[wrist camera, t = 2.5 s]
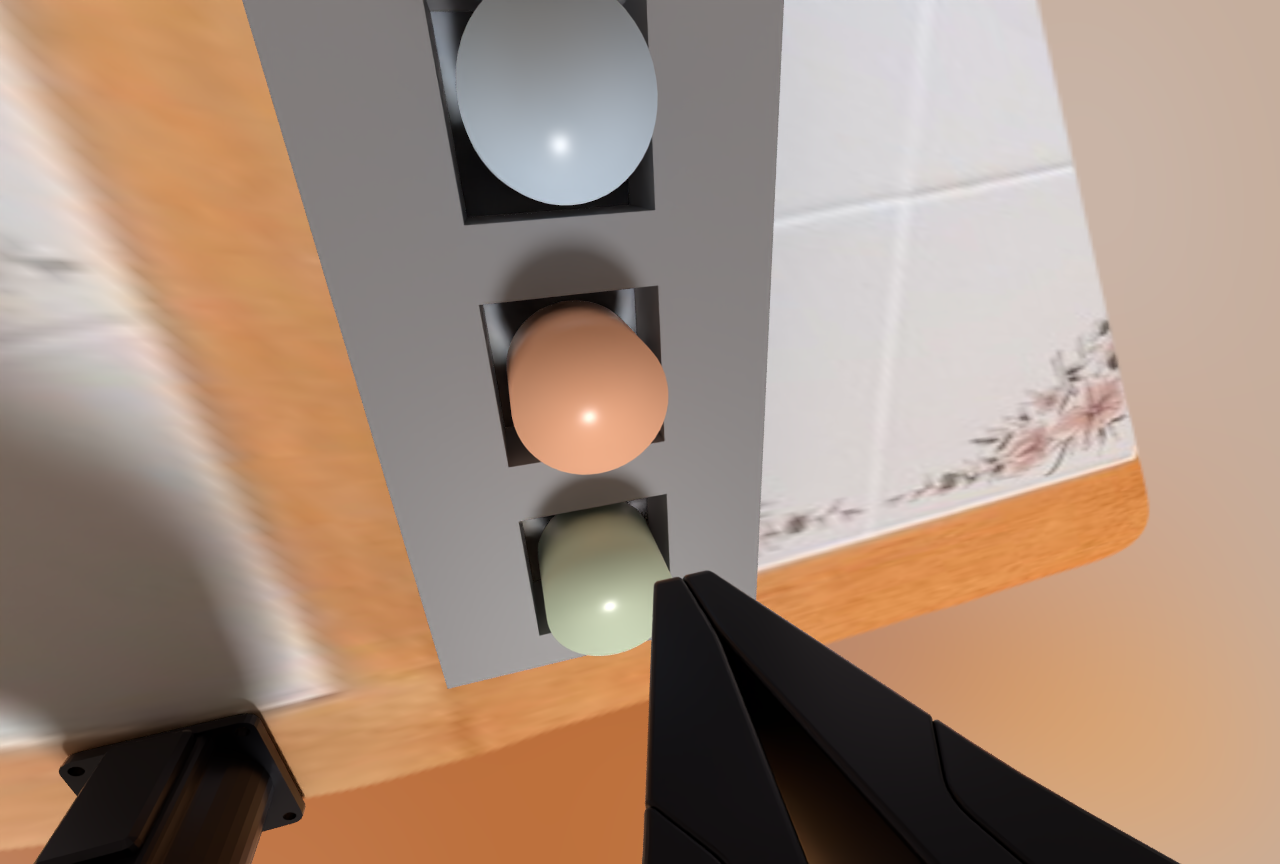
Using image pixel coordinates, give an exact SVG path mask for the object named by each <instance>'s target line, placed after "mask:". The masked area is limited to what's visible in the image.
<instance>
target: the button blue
mask: <svg viewBox="0 0 1280 864" xmlns="http://www.w3.org/2000/svg"><path fill="white" fill-rule="evenodd" d="M456 92H457V101H458V105H459V110H460V114H461V118H462V120H463V123H464V126H465V129H466V132H467V134H468V137H469V139H470V141H471V143H472V145H473V147H474V149H475V151H476V153H477V154H478V156H479V157H480V159H481V161H482V162H483V163H484V164H485V166H486V167H487V168H488V169H489V170H490V171H491V172H492V173H493V174H494V175H495V176H496V177H497V178H498V179H499V180H500V181H502V182H503V183H504V184H506V185H507V186H509V187H510V188H512V189H514V190H516V191H517V192H519V193H521V194H523V195H525V196H527V197H529V198H532V199H534V200H537V201H541V202H544V203H548V204H555V205H576V204H583V203H587V202H590V201H594V200H596V199H599V198H601V197H603V196H605V195H607V194H609V193H610V192H612V191H613V190H615V189H616V188H618V187H619V186H620V185H621V184H622V183H623V182H624V181H626V180H627V178H628V177H629V176H630V175H631V174H632V173H633V172H634V171H635V169H636V168H637V166H638V165H639V163H640V162H641V160H642V158H643V156H644V154H645V152H646V150H647V149H648V146H649V143H650V140H651V138H652V135H653V131H654V126H655V122H656V115H657V100H658V92H657V81H656V75H655V70H654V65H653V61H652V58H651V55H650V52H649V49H648V46H647V44H646V42H645V40H644V37H643V35H642V33H641V32H640V30H639V28H638V26H637V25H636V23H635V21H634V20H633V19H632V17H631V16H630V15H629V13H628V12H627V11H626V9H625V8H624V7H623V6H622V5H621V4H620V3H619V2H618V1H617V0H483V1H482V2H481V3H480V4H479V6H478V7H477V8H476V10H475V11H474V13H473V15H472V16H471V18H470V20H469V21H468V23H467V26H466V28H465V31H464V33H463V35H462V38H461V42H460V46H459V50H458V55H457V63H456Z"/></svg>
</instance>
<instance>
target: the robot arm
mask: <svg viewBox="0 0 1280 864" xmlns="http://www.w3.org/2000/svg"><path fill="white" fill-rule="evenodd" d="M647 746H648V747H647V771H646V796H645V797H646V798H645V806H646V810H645V814H644V839H643V857H642V864H1180V863H1178V862H1176V861H1174V860H1173V859H1171V858H1169V857H1167V856H1165V855H1164V854H1162V853H1160V852H1158V851H1157V850H1155V849H1153V848H1151V847H1149V846H1148V845H1146V844H1144V843H1142V842H1141V841H1139V840H1137V839H1135V838H1133V837H1132V836H1130V835H1128V834H1126V833H1125V832H1123V831H1121V830H1119V829H1117V828H1116V827H1114V826H1112V825H1110V824H1109V823H1107V822H1105V821H1103V820H1101V819H1100V818H1098V817H1096V816H1094V815H1092V814H1091V813H1089V812H1087V811H1085V810H1084V809H1082V808H1080V807H1078V806H1077V805H1075V804H1073V803H1072V802H1070V801H1068V800H1066V799H1065V798H1063V797H1061V796H1060V795H1058V794H1056V793H1054V792H1053V791H1051V790H1049V789H1047V788H1046V787H1044V786H1042V785H1041V784H1039V783H1037V782H1036V781H1034V780H1032V779H1030V778H1029V777H1027V776H1025V775H1023V774H1021V773H1020V772H1019V771H1017V770H1015V769H1014V768H1012V767H1011V766H1009V765H1007V764H1006V763H1004V762H1003V761H1001V760H1000V759H998V758H996V757H995V756H993V755H992V754H990V753H988V752H987V751H985V750H983V749H982V748H981V747H979V746H977V745H976V744H974V743H973V742H971V741H969V740H968V739H966V738H965V737H963V736H962V735H960V734H959V733H957V732H956V731H954V730H953V729H951V728H950V727H948V726H947V725H945V724H943V723H942V722H940V721H939V720H934V721H932V717H931V716H930V715H929V714H928V713H926V712H925V711H923V710H922V709H920V708H919V707H917V706H916V705H914V704H913V703H911V702H910V701H908V700H907V699H905V698H904V697H902V696H901V695H899V694H898V693H896V692H895V691H893V690H892V689H890V688H889V687H887V686H885V685H884V684H882V683H881V682H879V681H878V680H876V679H875V678H873V677H872V676H870V675H869V674H867V673H866V672H864V671H863V670H861V669H860V668H858V667H856V666H855V665H854V664H852V663H851V662H849V661H848V660H846V659H844V658H843V657H841V656H840V655H838V654H837V653H835V652H834V651H832V650H831V649H829V648H828V647H826V646H825V645H823V644H822V643H820V642H819V641H817V640H816V639H814V638H813V637H811V636H810V635H808V634H807V633H805V632H803V631H802V630H800V629H799V628H797V627H796V626H794V625H793V624H791V623H790V622H788V621H787V620H785V619H784V618H782V617H781V616H779V615H778V614H776V613H775V612H773V611H772V610H770V609H769V608H767V607H765V606H764V605H762V604H761V603H759V602H758V601H756V600H755V599H753V598H752V597H750V596H749V595H747V594H746V593H744V592H743V591H741V590H740V589H738V588H737V587H735V586H734V585H732V584H731V583H729V582H728V581H726V580H724V579H723V578H721V577H720V576H718V575H717V574H715V573H714V572H712V571H709V570H705V571H700V572H696V573H691V574H687V575H685V576H684V577H683V579H682V578H680V577H673V578H669V579H664V580H660V581H656V582H655V584H654V589H653V614H652V640H651V666H650V692H649V718H648V745H647ZM59 774H60V776H61V777H62V778H63V779H64V781H65V782H66V783H67V784H68V786H69V787H70V788H71V789H72V790H73V792H74V793H75V794H76V795H77V798H76V799H75V801H74V802H73V804H72V805H71V807H70V808H69V810H68V811H67V813H66V815H65V816H64V818H63V819H62V821H61V822H60V824H59V825H58V827H57V828H56V830H55V831H54V833H53V835H52V836H51V838H50V839H49V841H48V842H47V844H46V845H45V847H44V848H43V850H42V851H41V853H40V854H39V856H38V858H37V859H36V861H35V862H34V864H251V863H252V860H253V857H254V854H255V851H256V848H257V845H258V842H259V839H260V836H261V833H262V832H263V831H266V830H270V829H274V828H277V827H281V826H284V825H288V824H292V823H295V822H297V821H299V820H300V819H301V818H302V816H303V813H304V810H305V803H304V801H303V799H302V797H301V795H300V793H299V791H298V790H297V788H296V786H295V784H294V782H293V780H292V778H291V776H290V774H289V773H288V771H287V769H286V767H285V765H284V763H283V761H282V759H281V757H280V756H279V754H278V752H277V750H276V748H275V746H274V744H273V742H272V740H271V739H270V737H269V735H268V733H267V731H266V729H265V727H264V725H263V723H262V722H261V720H260V719H259V717H258V716H255V715H253V714H240V715H236V716H232V717H228V718H223V719H219V720H215V721H210V722H206V723H202V724H198V725H193V726H189V727H185V728H180V729H176V730H172V731H168V732H163V733H159V734H155V735H150V736H146V737H142V738H138V739H133V740H129V741H125V742H120V743H116V744H112V745H108V746H103V747H99V748H95V749H90V750H86V751H82V752H78V753H74V754H72V755H70V756H69V757H68V758H67V759H66V760H65V762H64V763H63V765H62V766H61V767H60V769H59Z"/></svg>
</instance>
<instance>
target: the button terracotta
mask: <svg viewBox="0 0 1280 864" xmlns="http://www.w3.org/2000/svg"><path fill="white" fill-rule="evenodd" d="M506 369H507V379H508V387H509V396H510V404H511V413H512V419H513V423H514V427H515V429H516V432H517V434H518V436H519V438H520V440H521V441H522V443H523V444H524V446H525V447H526V448H527V449H528V451H529V452H530V453H531V454H533V455H534V456H535V457H536V458H537V459H538V460H540V461H541V462H543V463H544V464H546V465H548V466H550V467H552V468H554V469H557V470H559V471H563V472H567V473H571V474H580V475H587V474H598V473H603V472H607V471H611V470H613V469H616V468H619V467H621V466H623V465H625V464H627V463H629V462H630V461H632V460H633V459H635V458H636V457H637V456H639V455H640V454H641V453H642V452H643V451H644V450H645V449H646V448H647V447H648V446H649V445H650V444H651V442H652V441H653V440H654V439H655V437H656V436H657V434H658V432H659V431H660V429H661V426H662V424H663V422H664V419H665V416H666V412H667V406H668V384H667V380H666V376H665V373H664V371H663V368H662V366H661V364H660V362H659V361H658V359H657V357H656V356H655V355H654V353H653V352H652V351H651V350H650V349H649V348H648V347H647V345H646V344H645V343H644V342H643V341H642V340H641V339H640V338H639V337H638V336H637V335H636V334H635V333H634V332H633V331H632V330H631V328H630V327H629V326H628V325H627V324H626V323H625V322H624V321H623V320H622V319H621V318H620V317H619V316H618V315H616V314H615V313H614V312H612V311H611V310H609V309H607V308H605V307H604V306H601V305H599V304H596V303H593V302H588V301H581V300H568V301H562V302H557V303H554V304H551V305H548V306H546V307H544V308H542V309H540V310H539V311H537V312H535V313H534V314H533V315H531V316H530V317H529V318H528V319H527V320H526V321H525V322H524V323H523V324H522V325H521V326H520V328H519V329H518V331H517V332H516V334H515V335H514V337H513V339H512V341H511V344H510V347H509V350H508V355H507V365H506Z"/></svg>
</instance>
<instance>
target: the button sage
mask: <svg viewBox="0 0 1280 864" xmlns="http://www.w3.org/2000/svg"><path fill="white" fill-rule="evenodd" d="M538 560H539V567H540V574H541V581H542V588H543V595H544V602H545V609H546V616H547V622H548V626H549V629H550V631H551V633H552V634H553V636H554V637H555V639H556V640H557V641H558V642H559V643H560V644H562V645H563V646H564V647H566V648H568V649H570V650H572V651H574V652H577V653H580V654H584V655H591V656H605V655H613V654H618V653H621V652H625V651H627V650H630V649H632V648H635V647H637V646H638V645H640V644H642V643H644V642H645V641H647V640H648V639H649V638H651V637H652V614H653V589H654V584H655V582H656V581H660V580H664V579H669V578H672V576H671V574H670V572H669V570H668V568H667V565H666V563H665V561H664V559H663V557H662V555H661V553H660V550H659V548H658V546H657V544H656V542H655V540H654V538H653V535H652V533H651V531H650V529H649V527H648V525H647V523H646V521H645V519H644V517H643V516H642V514H641V513H640V512H639V511H638V510H637V509H635V508H634V507H633V506H631V505H630V504H628V503H626V502H620V503H615V504H609V505H604V506H599V507H593V508H588V509H583V510H577V511H572V512H567V513H561V514H557V515H555V516H554V517H553V518H552V519H551V521H550V522H549V523H548V524H547V526H546V527H545V529H544V531H543V532H542V535H541V537H540V540H539V544H538Z"/></svg>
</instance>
